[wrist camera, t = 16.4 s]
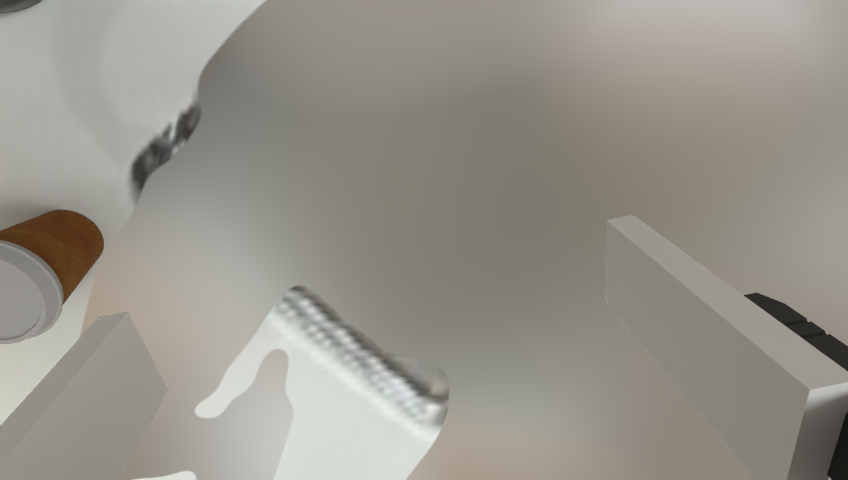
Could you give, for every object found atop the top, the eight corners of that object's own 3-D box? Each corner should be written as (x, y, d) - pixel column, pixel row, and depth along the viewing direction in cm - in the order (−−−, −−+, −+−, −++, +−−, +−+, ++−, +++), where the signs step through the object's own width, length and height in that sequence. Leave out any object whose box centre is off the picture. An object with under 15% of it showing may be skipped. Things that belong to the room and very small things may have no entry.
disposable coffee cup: (134, 222, 49) (68, 280, 38) (103, 292, 52) (33, 364, 41) (33, 176, 46) (-70, 225, 35) (6, 253, 49) (-97, 320, 38)
